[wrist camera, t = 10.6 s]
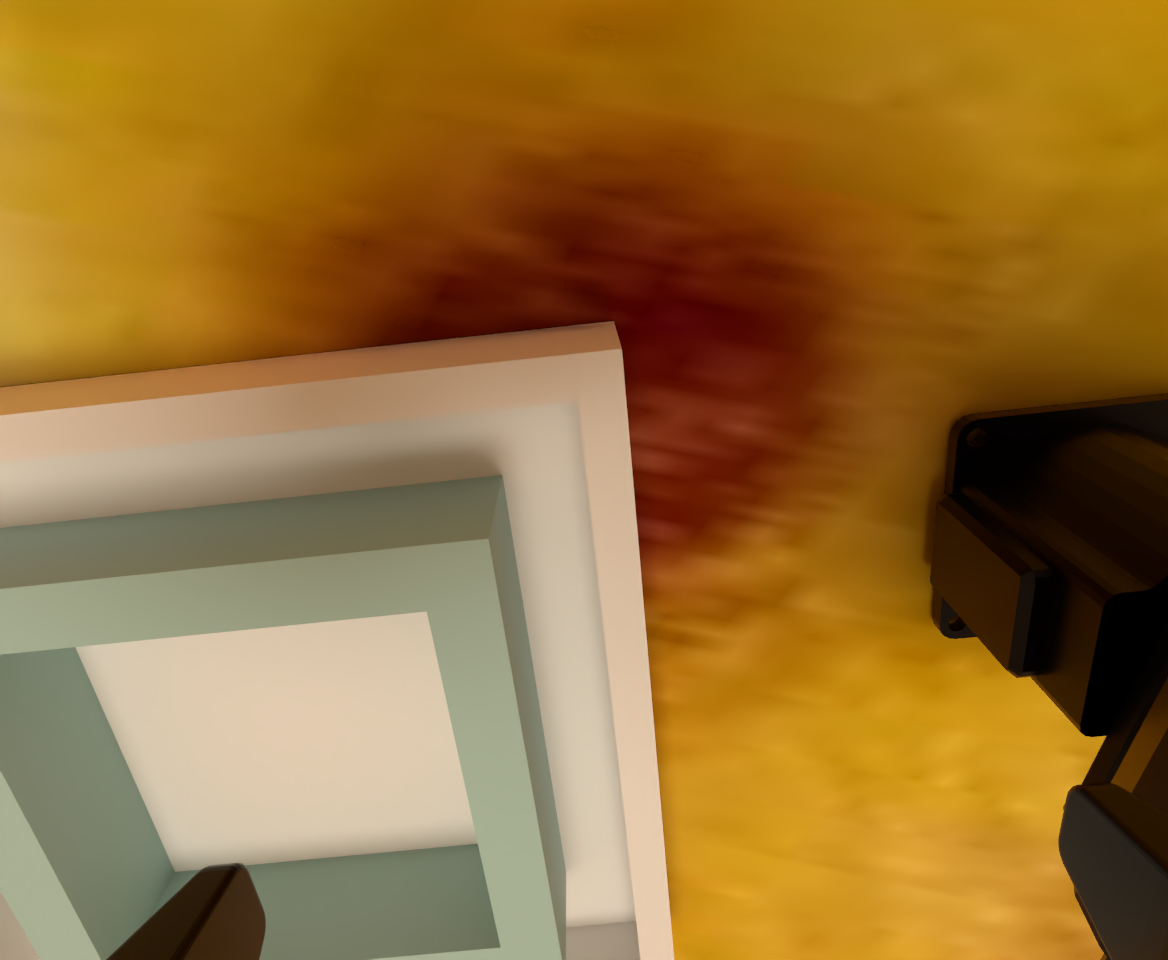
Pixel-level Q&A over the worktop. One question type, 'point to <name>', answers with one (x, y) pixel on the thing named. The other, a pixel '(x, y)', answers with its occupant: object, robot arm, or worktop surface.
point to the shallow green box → (261, 600)
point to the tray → (375, 644)
